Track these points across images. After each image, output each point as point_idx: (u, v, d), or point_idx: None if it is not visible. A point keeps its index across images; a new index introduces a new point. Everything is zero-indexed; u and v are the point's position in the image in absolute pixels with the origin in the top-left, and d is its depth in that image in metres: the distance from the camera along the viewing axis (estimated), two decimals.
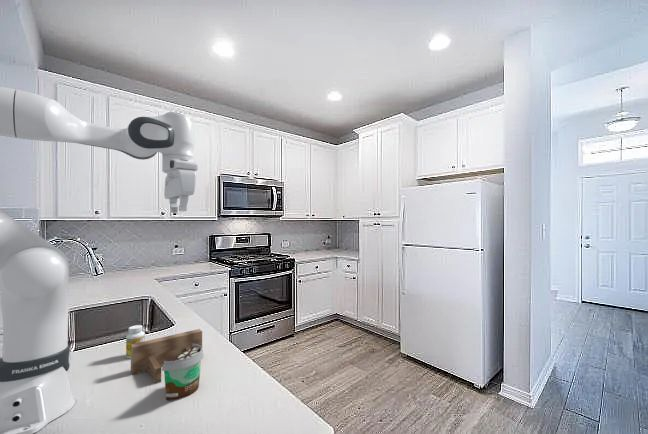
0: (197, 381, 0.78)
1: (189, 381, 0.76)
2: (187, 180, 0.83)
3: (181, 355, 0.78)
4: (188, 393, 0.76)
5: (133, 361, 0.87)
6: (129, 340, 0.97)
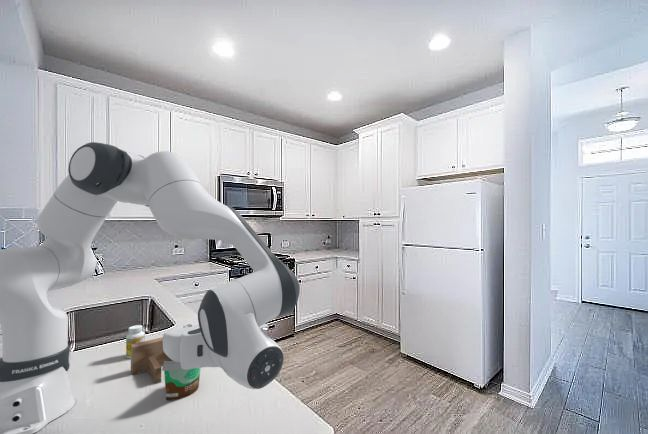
0: (197, 381, 0.78)
1: (189, 381, 0.76)
2: (167, 345, 0.57)
3: None
4: (188, 393, 0.76)
5: (133, 361, 0.87)
6: (129, 340, 0.97)
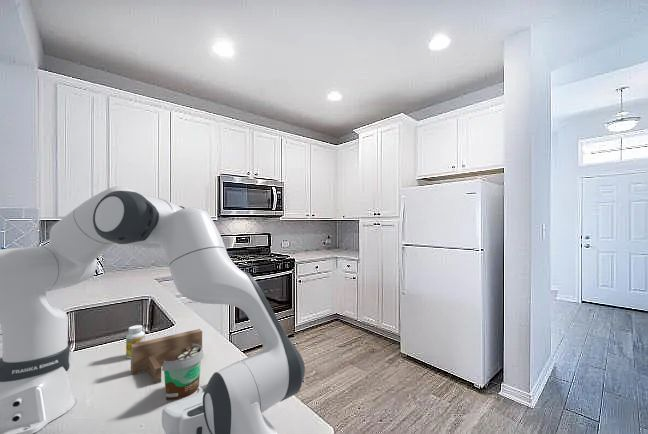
0: (197, 381, 0.78)
1: (189, 381, 0.76)
2: (166, 424, 0.57)
3: (181, 355, 0.78)
4: (188, 393, 0.76)
5: (133, 361, 0.87)
6: (129, 340, 0.97)
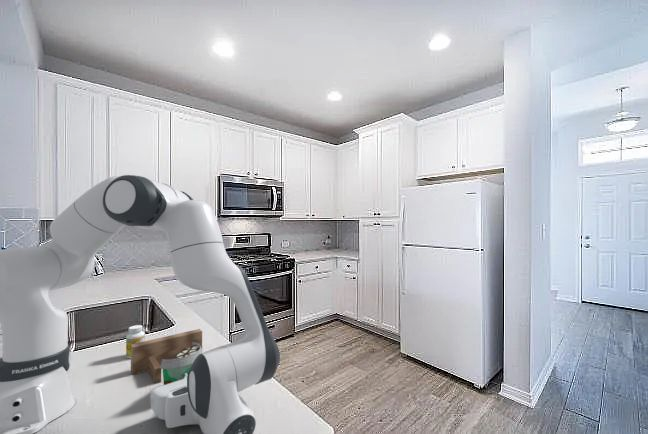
0: None
1: None
2: (154, 403, 0.64)
3: (180, 353, 0.79)
4: None
5: (133, 361, 0.87)
6: (129, 340, 0.97)
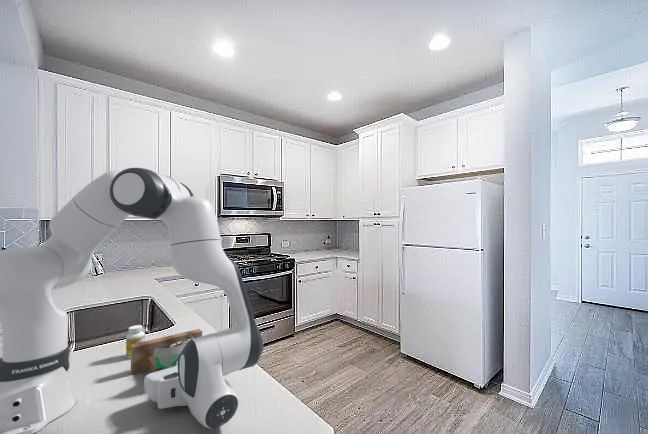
0: None
1: None
2: (147, 387, 0.70)
3: (174, 344, 0.86)
4: None
5: (133, 361, 0.87)
6: (129, 340, 0.97)
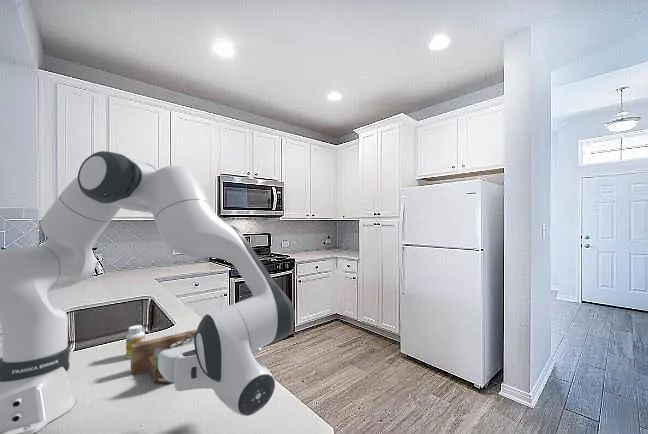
0: None
1: None
2: (162, 365, 0.59)
3: (174, 344, 0.86)
4: None
5: (133, 361, 0.87)
6: (129, 340, 0.97)
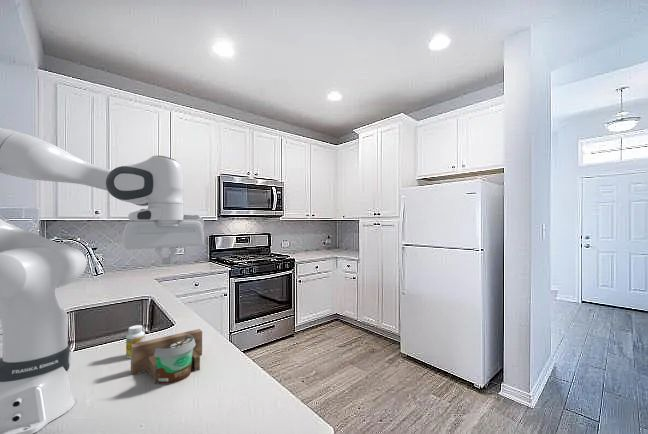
0: (187, 369, 0.85)
1: (178, 368, 0.83)
2: (123, 234, 0.76)
3: (174, 344, 0.86)
4: (178, 379, 0.83)
5: (133, 361, 0.87)
6: (129, 340, 0.97)
